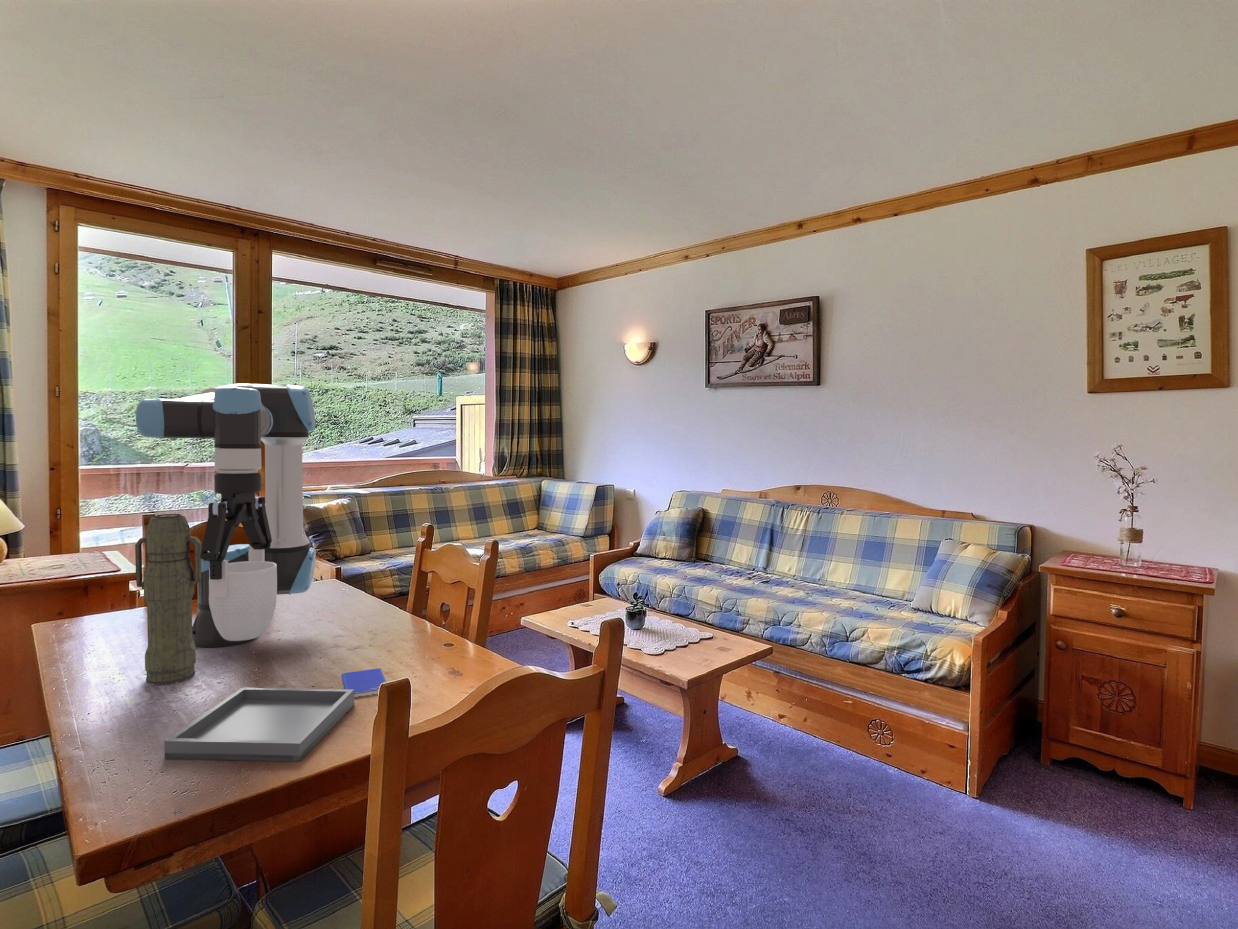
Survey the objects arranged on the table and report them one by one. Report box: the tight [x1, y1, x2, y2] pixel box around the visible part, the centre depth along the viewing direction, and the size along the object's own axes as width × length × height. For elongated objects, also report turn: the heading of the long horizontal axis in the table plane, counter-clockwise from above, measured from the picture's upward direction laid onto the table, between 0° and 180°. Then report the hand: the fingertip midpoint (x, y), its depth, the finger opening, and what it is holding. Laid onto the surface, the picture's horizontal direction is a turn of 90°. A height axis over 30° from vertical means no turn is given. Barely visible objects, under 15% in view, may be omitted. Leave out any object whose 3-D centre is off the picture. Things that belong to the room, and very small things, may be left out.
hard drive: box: [340, 668, 387, 698], centre depth 138 cm, size 2×8×12 cm
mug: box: [209, 561, 277, 641], centre depth 122 cm, size 15×11×13 cm
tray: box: [163, 687, 355, 762], centre depth 117 cm, size 22×22×3 cm
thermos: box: [134, 513, 203, 686], centre depth 139 cm, size 9×12×35 cm
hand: (238, 589), depth 121 cm, fingers closed on mug, 11 cm apart
